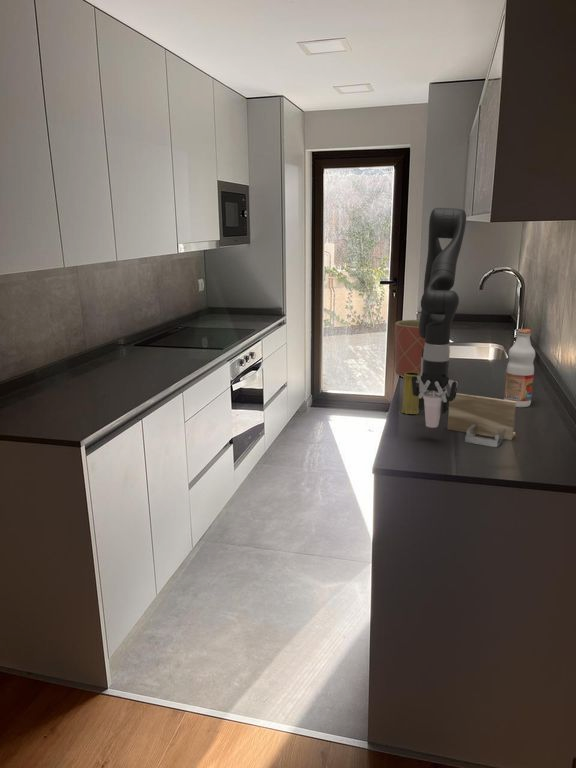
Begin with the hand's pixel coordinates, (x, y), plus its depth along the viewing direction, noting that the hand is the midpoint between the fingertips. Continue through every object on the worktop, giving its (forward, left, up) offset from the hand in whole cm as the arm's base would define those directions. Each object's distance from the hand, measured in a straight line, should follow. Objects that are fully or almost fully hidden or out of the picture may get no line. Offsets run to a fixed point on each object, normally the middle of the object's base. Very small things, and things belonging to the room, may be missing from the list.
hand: (432, 411), depth 180 cm
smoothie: (0, 0, -5) cm, 5 cm away
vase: (-24, -16, -9) cm, 30 cm away
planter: (-80, -33, -9) cm, 87 cm away
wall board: (-15, +11, -9) cm, 21 cm away
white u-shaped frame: (-8, +14, -9) cm, 19 cm away
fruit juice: (-55, +14, -9) cm, 57 cm away
